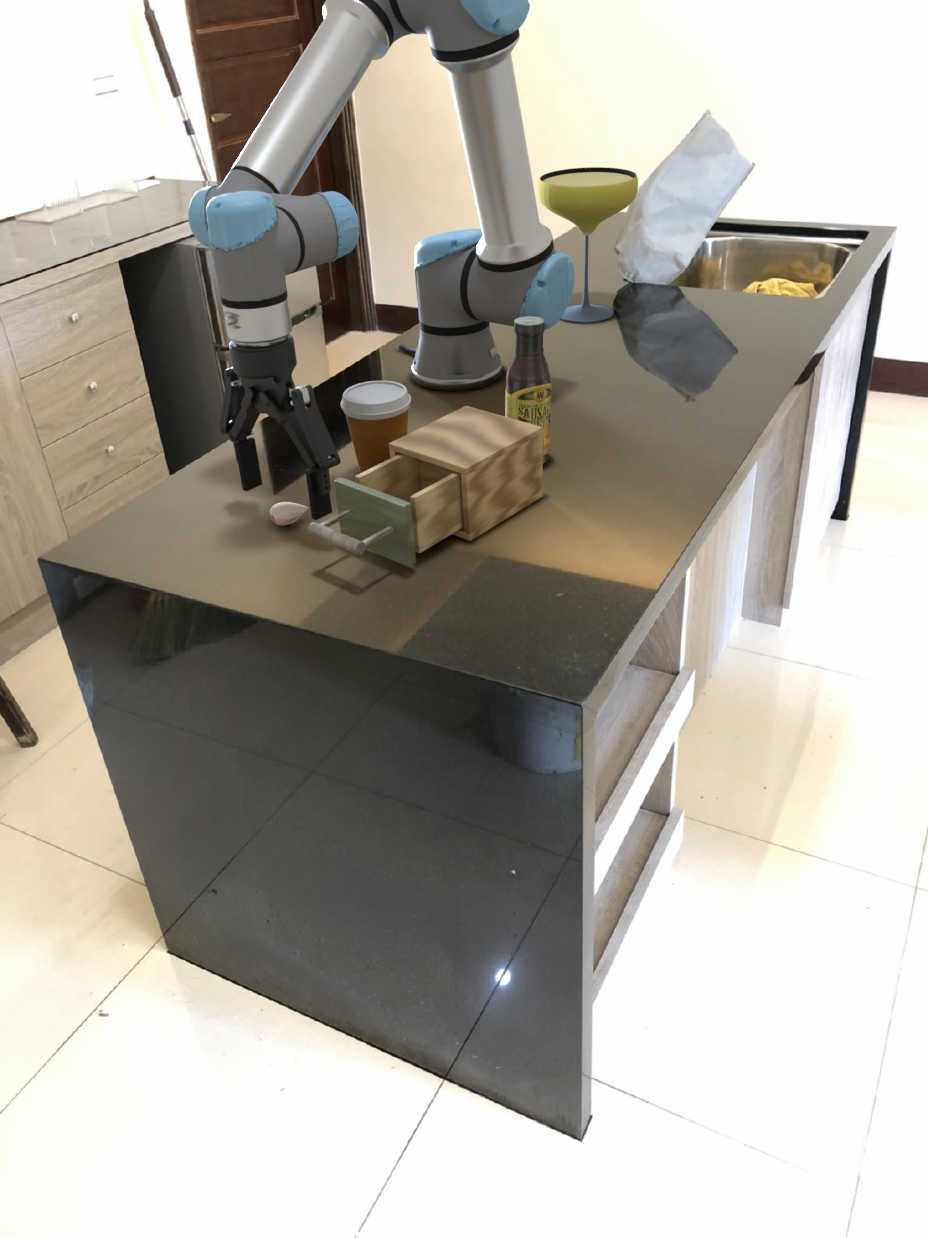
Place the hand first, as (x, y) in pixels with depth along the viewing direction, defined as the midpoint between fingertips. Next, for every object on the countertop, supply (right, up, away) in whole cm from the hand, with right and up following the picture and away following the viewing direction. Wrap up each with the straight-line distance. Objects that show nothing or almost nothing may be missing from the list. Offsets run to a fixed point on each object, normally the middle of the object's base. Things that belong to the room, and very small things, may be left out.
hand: (286, 501), depth 129 cm
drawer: (+14, -5, -6) cm, 16 cm away
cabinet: (+23, 0, +3) cm, 24 cm away
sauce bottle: (+32, +7, +13) cm, 35 cm away
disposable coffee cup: (+11, +5, +12) cm, 17 cm away
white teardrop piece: (0, -3, +2) cm, 3 cm away
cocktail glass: (+46, +44, +67) cm, 93 cm away
